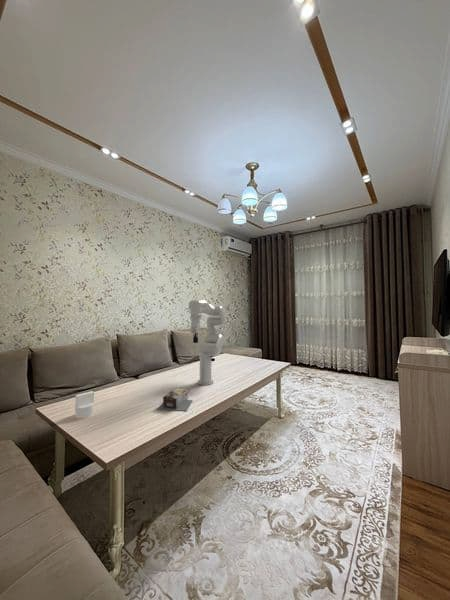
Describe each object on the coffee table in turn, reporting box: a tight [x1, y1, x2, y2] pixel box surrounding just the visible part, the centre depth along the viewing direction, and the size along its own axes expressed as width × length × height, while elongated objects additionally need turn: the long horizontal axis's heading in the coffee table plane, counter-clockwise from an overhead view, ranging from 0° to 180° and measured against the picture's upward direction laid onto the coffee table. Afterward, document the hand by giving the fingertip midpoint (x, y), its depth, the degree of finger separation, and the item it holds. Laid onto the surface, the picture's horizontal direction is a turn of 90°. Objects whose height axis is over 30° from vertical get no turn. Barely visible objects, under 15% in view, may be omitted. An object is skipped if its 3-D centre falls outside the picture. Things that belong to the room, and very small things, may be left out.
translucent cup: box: [74, 390, 95, 419], centre depth 139 cm, size 9×9×12 cm
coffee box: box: [162, 387, 189, 409], centre depth 156 cm, size 9×6×16 cm
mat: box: [156, 399, 193, 412], centre depth 154 cm, size 16×18×1 cm
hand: (195, 342), depth 178 cm, fingers closed
